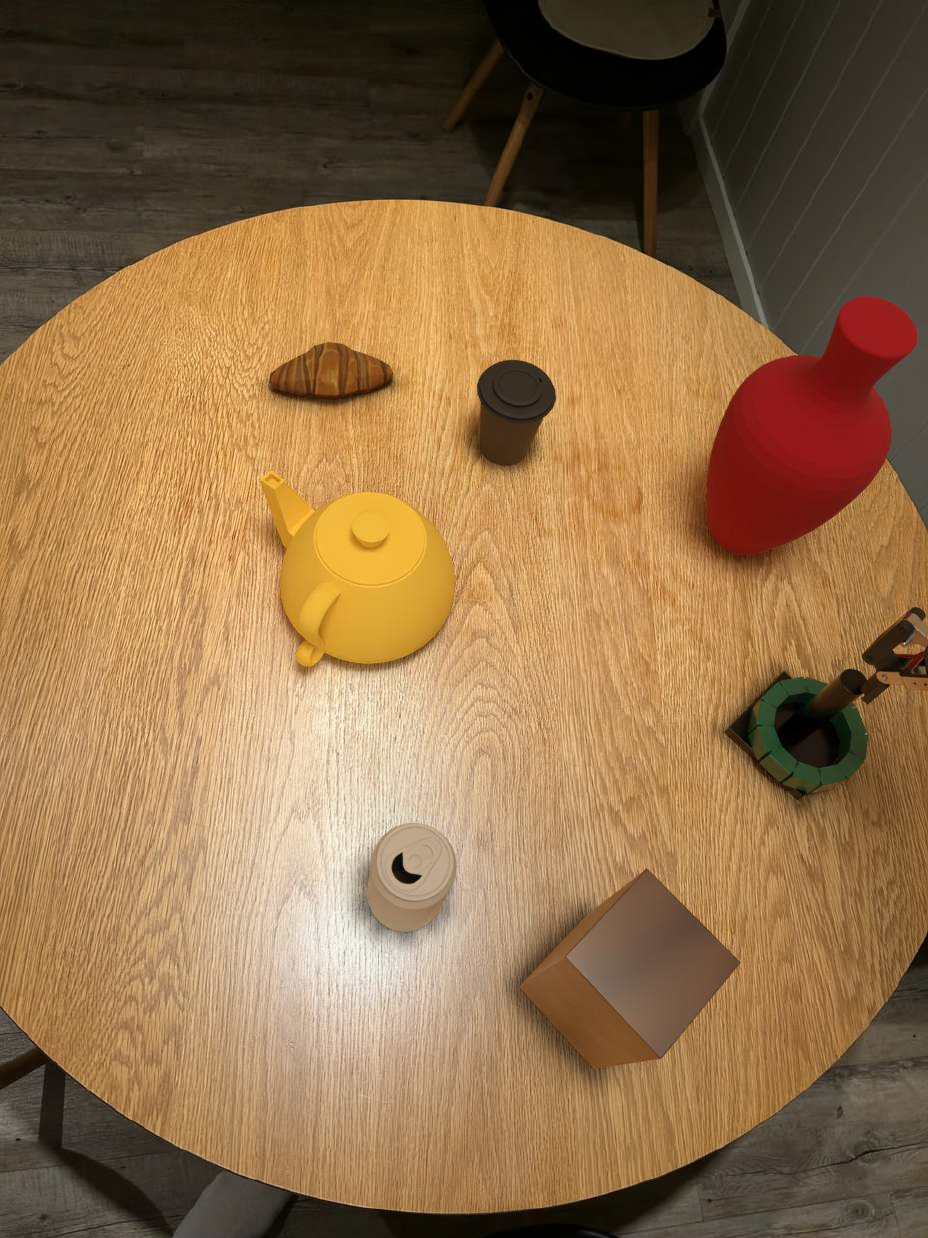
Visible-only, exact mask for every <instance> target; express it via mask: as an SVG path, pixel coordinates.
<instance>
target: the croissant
mask: <svg viewBox="0 0 928 1238" xmlns="http://www.w3.org/2000/svg"><path fill="white" fill-rule="evenodd" d="M393 378H394V372H393V369H392V366H391V365H390V364H389V363H387V362H386V361H385V362H384V361H383V360H381V359H379V358H377V357H374V356H372V355H369V354H367V353H364V352H361V351H357V350H354V349H352V348H351V347H349V346H347V344H344V343H340V342H339V343H338V342H332V341H326V342H322V343H319V344H316V345H313V346H312V347H311V348H310V349H308V350H307V351H306V352H304V353H302V354H300V355H298V356H296V357H294V358H292V359H290V360H288V361H286V362H285V363H283V364H281V365H279V367H277V368H276V369H274V370H273V371H271V372H270V375H269V380H268V384H269V386H270V388H271V390H272V392H275V393H278V394H281V395H286V396H292V397H297V398H307V397H311V398H312V397H313V398H317V399H326V400H327V399H329V400H337V399H341V398H345V397H349V396H352V395H355V394H367V393H370V392H373V391H376V390H378V389H381V388H383V387H385V386H387V385H389V384H391V383H392V381H393Z"/></svg>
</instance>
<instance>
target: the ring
mask: <svg viewBox="0 0 928 1238" xmlns="http://www.w3.org/2000/svg"><path fill="white" fill-rule="evenodd" d="M792 678H793V677H792ZM828 684H829V683H827V682H824V681H821V680H817V679H815V678H811V677H808V676H806V677H804V676H801V677H800V676H798V677H794V678H793V679H787V680H782V681H780V682H779V683H776V684H775V685H774V686H773V687H772V688H771V689H770V690H769V691H768V692H767V693H766V694H765V695H764V696H763V697H762V698H761V699H760V700H759V701H758V702H757V703H756V704H755V705H754V706H753V708H752V709H751V714H750V720H749V726H748V733H750V734H749V735H748V738H749V740H750V743H751V746H752V748H753V751H754V754H755V756H756V759H757V760H761V759H762V760H761V761H760V762H759V763H760V764H761V765H762V766H763V767H764V768H765V769H766V770H767V771H768V772H769V773H770V774H771V775H772V776H773V777H774V778H775V779H776V780H777V781H778V782H781V781H782V780H783V782H782V784H783V785H786V786H789V787H792V788H795V789H798V790H801V791H804V792H807V794H808V793H811V794H814V793H818V792H823V791H828V790H832V789H836V788H838V787H839V786H841V785H842V784H844V783H845V782H848V781H849V780H850V779H852V777H853V776H854V775H855V774H856V772H858V770H859V769H860V768H861V767H862V766H863V765H864V764H865V761H866V759H867V751H868V741H869V740H868V739H869V734H867V733H868V730H867V728H866V725H865V723H864V720H863V718H862V717H861V714H860V711H859V710H858V708H857V707H855V706H856V705H855V704H854V702H852V703H851V704H850V705H848V706H847V707H846V708H845V709H843V710H842V711H841V712H839V713H838V714H837V715H836V716H834V717H833V718H832V719H831V720H830V721H831V722H832V724H833V726H834V728H835V731H836V733H837V735H838V738H839V740H840V743H839V752H838V758H837V759H836V761H835V762H834V763H833V764H832V765H831V766H827V767H822V768H816V767H813V766H810V765H807V764H804V763H801V762H798V761H797V760H796V759H795V758H794V757H793V756H792V755H790V754H789V753H788V752H787V751H786V750H785V749H784V748H783V747H782V746H781V743H780V741H779V738H778V736H777V733H776V731H775V728H774V721H775V715H776V708H777V707H778V706H779V705H781V704H786V703H792V702H800V703H803V704H806V703H807V702H808V701H809V700H811V699H812V698H813V697H814V696H815V695H816V694H818V693H819V692H820V691H821V690H822V689H823V688H825V687H826V686H827V685H828ZM854 707H855V708H854ZM767 771H766V772H767ZM768 772H767V773H768ZM769 773H768V774H769ZM770 774H769V775H770ZM771 775H770V776H771ZM772 776H771V777H772ZM773 777H772V778H773ZM774 778H773V779H774ZM775 779H774V780H775ZM776 780H775V781H776ZM777 781H776V782H777ZM778 782H777V783H778Z"/></svg>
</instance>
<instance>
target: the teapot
mask: <svg viewBox="0 0 928 1238" xmlns="http://www.w3.org/2000/svg"><path fill="white" fill-rule="evenodd" d="M259 483H260V486H261V489H262V491H263V494H264V496H265V499H266V502H267V505H268V508H269V510H270V513H271V515H272V519H273V521H274V524H275V527H276V529H277V532H278V534H279V537H280V540H281V543H282V545H283V547H284V548H285V549H286V551H285V553H284V556H283V560H282V565H281V567H280V575H279V584H280V585H279V588H280V598H281V602H282V603H281V604H282V606H283V609H284V612H285V614H286V615H287V618H288V620H289V621H290V624H291V625H292V626H293V627H294V629H295V630H296V631H297V633H299V635H300V636H301V637H302V638H303V639H304V641H302V643H301V644H300V645H299V646H298V648H297V649H296V651H295V653H294V658H295V660H296V661H297V662H298V663H299V664H300V665H301V666H303V667H305V668H307V667H308V668H309V667H313V666H315V665H316V664H317V663H319V662H320V660H321V659H322V658H323V656H324V654H326V655H328V656H330V657H333V658H336V659H339V660H342V661H344V662H345V661H346V662H349V663H355V664H367V665H368V664H369V665H370V664H382V663H388V662H393V661H396V660H399V659H402V658H405V657H406V656H408V655H410V654H413V653H415V652H416V651H417V650H419V649H421V648H422V647H424V646H425V645H427V643H429V642H430V641H431V640H432V639H433V638H434V637H435V636H436V635H437V634H438V632H440V631H441V629H442V628H443V626H444V625H445V623H446V621H447V619H448V617H449V615H450V613H451V610H452V606H453V603H454V597H455V590H456V575H455V570H454V563H453V560H452V556H451V553H450V550H449V547H448V546H447V543H446V541H445V539H444V538H443V536H442V535H441V532H440V531H439V530H438V528H437V527H436V526H435V525H434V524H433V522H432V521H431V520H430V519H429V518H428V517H427V516H426V515H425V514H423V513H422V512H421V511H420V510H418V509H417V508H415V506H413V505H411V504H410V503H408V502H406V501H404V500H403V499H401V498H398V497H396V496H393V495H391V494H389V493H388V494H387V493H383V492H377V491H359V492H354V493H353V492H352V493H349V494H345V495H343V496H340V497H338V498H335V499H333V500H331V501H329V502H327V503H326V504H324V505H322V506H321V507H319V508H318V509H317V510H316V509H314V508H313V507H312V506H311V505H310V504H309V503H308V502H307V501H306V500H305V499H304V498H303V497H302V496H301V495H300V494H298V492H296V490H294V489H293V488H292V487H291V486H290V485H289V484H288V483H287V481H286V480H285V479H284V478H283V477H281V476H280V475H279V474H278V473H276V472H274V471H273V470H272V469H270V470H269V471H267V472H266V473H265V474H264V475H263V476H262V477H260V479H259Z"/></svg>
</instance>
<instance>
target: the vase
mask: <svg viewBox="0 0 928 1238" xmlns="http://www.w3.org/2000/svg"><path fill="white" fill-rule="evenodd" d="M917 343H918V330H917V327H916V324H915V322H914V321H913V319H912V318H911V316H909V314H908V313H907V312H906V311H905V310H903V309H902V308H901V307H900V306H898V305H896V304H894V303H893V302H891V301H889V300H886V299H883V298H879V297H878V296H877V297H875V296H859V297H855V298H853V299H849V300H848V301H846V302H845V303H844V304H843V305H842V306H841V308H840V310H839V311H838V314H837V317H836V320H835V323H834V325H833V329H832V332H831V334H830V337H829V340H828V343H827V344H826V345H827V346H826V348H825V350H824V352H823V354H822V356H818V355H811V354H795V355H789V356H784V357H779V358H775V359H772V360H770V361H768V362H766V363H763V364H762V365H761V366H759V367H757V368H756V369H755V370H754V371H753V372H751V373H750V374H749V375H747V377H746V378H745V379H744V380H743V381H742V382H741V383H740V385H739V386H738V388H737V389H736V390H735V392H734V394H733V395H732V397H731V399H729V402H728V405H727V407H726V409H725V412H724V413H723V416H722V418H721V420H720V423H719V425H718V429H717V431H716V434H715V437H714V440H713V443H712V448H711V452H710V454H709V461H708V467H707V474H706V481H705V482H706V484H705V503H706V504H705V505H706V517H707V526H708V529H709V533H710V535H711V537H712V538H713V540H714V541H715V543H717V544H718V545H719V546H720V547H721V548H723V549H724V550H726V551H728V552H730V553H732V554H735V555H738V556H755V555H758V554H761V553H764V552H767V551H771V550H773V549H777V548H779V547H782V546H785V545H787V544H789V543H792V542H794V541H796V540H798V539H799V538H803V537H804V536H807V534H811V532H813V531H814V530H817V529H818V528H820V527H821V526H823V525H824V524H826V523H827V522H828V521H830V520H831V519H833V518H834V517H835V516H837V515H838V514H839V513H840V512H841V511H842V510H844V509H845V508H846V507H847V506H849V505H850V504H851V502H852V503H853V501H854V500H856V499H857V498H858V497H859V496H860V495H861V494H862V493H863V492H864V491H865V490H866V489H867V487H869V486H870V485H871V483H872V482H873V480H874V479H875V477H877V475H878V474H879V472H880V470H881V469H882V468H883V466H884V465H885V463H886V460H887V457H888V454H889V451H890V448H891V445H892V439H893V438H892V437H893V436H892V435H893V434H892V433H893V428H892V424H891V418H890V414H889V411H888V408H887V406H886V403H885V402H884V400H883V398H882V396H881V395H880V394H879V392H878V391H877V389H876V388H875V387H874V386H875V385H876V384H877V382H879V381H880V380H881V379H882V378H883V377H884V376H885V375H886V374H888V372H890V370H892V369H893V368H894V367H896V366H897V365H898V364H899V363H900V362H901V361H902V360H904V359H905V358H906V357H907V356H908V355H910V354H911V353H912V352H913V350H914V349H915V348H916V346H917Z"/></svg>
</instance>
